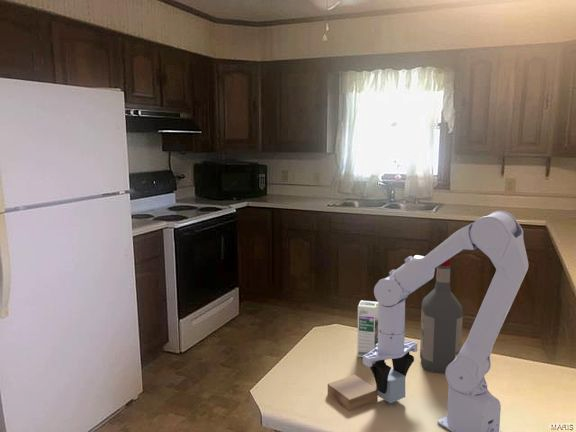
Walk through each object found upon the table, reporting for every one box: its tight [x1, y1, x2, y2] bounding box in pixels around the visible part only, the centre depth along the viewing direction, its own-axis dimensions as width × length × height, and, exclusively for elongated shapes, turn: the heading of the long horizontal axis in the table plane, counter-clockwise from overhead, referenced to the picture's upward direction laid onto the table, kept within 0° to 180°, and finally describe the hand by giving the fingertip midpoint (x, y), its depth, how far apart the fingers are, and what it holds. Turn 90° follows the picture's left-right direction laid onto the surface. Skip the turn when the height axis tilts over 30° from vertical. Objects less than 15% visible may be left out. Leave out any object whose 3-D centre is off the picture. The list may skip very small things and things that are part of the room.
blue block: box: [375, 368, 406, 404], centre depth 103 cm, size 4×4×5 cm
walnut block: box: [327, 374, 379, 412], centre depth 105 cm, size 8×8×3 cm
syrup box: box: [356, 299, 378, 358], centre depth 126 cm, size 6×6×14 cm
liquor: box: [419, 257, 464, 374], centre depth 118 cm, size 9×9×30 cm
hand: (390, 388), depth 103 cm, fingers closed on blue block, 4 cm apart
